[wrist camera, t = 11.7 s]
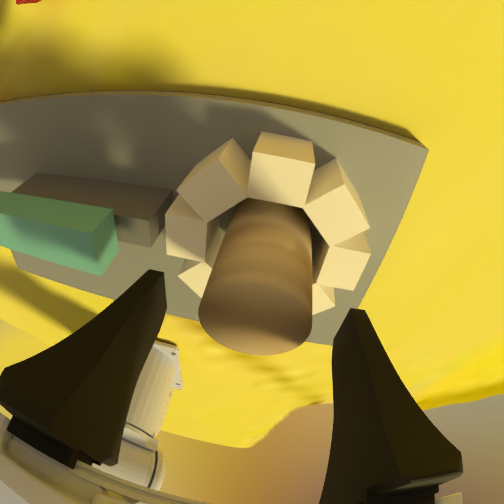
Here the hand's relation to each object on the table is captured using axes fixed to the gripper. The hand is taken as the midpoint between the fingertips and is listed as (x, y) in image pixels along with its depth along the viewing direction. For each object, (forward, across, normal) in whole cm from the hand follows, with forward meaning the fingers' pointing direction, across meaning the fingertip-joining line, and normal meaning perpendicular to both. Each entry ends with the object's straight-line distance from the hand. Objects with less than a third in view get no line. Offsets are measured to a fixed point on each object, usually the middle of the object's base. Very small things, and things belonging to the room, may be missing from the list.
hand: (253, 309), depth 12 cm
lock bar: (+3, +13, 0) cm, 14 cm away
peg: (+6, 0, 0) cm, 6 cm away
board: (+8, +8, +2) cm, 11 cm away
